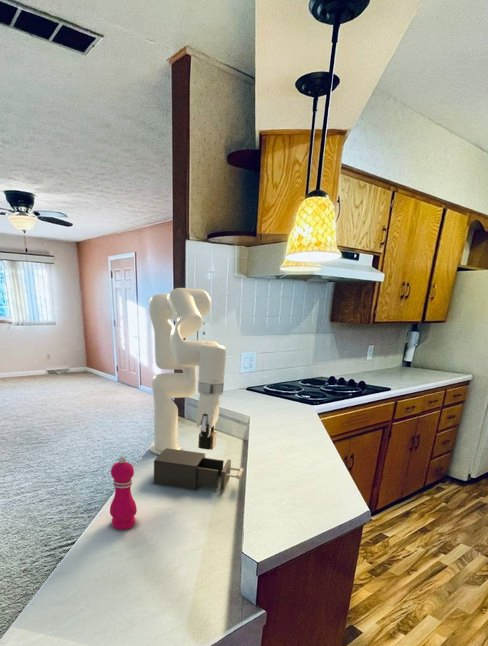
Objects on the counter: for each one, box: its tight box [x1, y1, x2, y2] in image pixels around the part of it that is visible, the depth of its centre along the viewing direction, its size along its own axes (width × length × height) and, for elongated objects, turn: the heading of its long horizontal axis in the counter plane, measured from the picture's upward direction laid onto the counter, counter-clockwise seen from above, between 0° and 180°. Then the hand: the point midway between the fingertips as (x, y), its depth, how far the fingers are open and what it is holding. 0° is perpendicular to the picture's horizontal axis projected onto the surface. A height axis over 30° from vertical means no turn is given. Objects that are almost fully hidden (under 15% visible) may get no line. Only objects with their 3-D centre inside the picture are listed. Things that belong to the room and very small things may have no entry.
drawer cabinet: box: [153, 448, 206, 491], centre depth 142 cm, size 15×13×9 cm
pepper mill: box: [109, 456, 138, 531], centre depth 110 cm, size 7×7×20 cm
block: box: [197, 430, 217, 451], centre depth 127 cm, size 4×4×4 cm
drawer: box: [196, 457, 244, 492], centre depth 140 cm, size 18×11×7 cm, turn 77°
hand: (207, 445), depth 128 cm, fingers closed on block, 4 cm apart
